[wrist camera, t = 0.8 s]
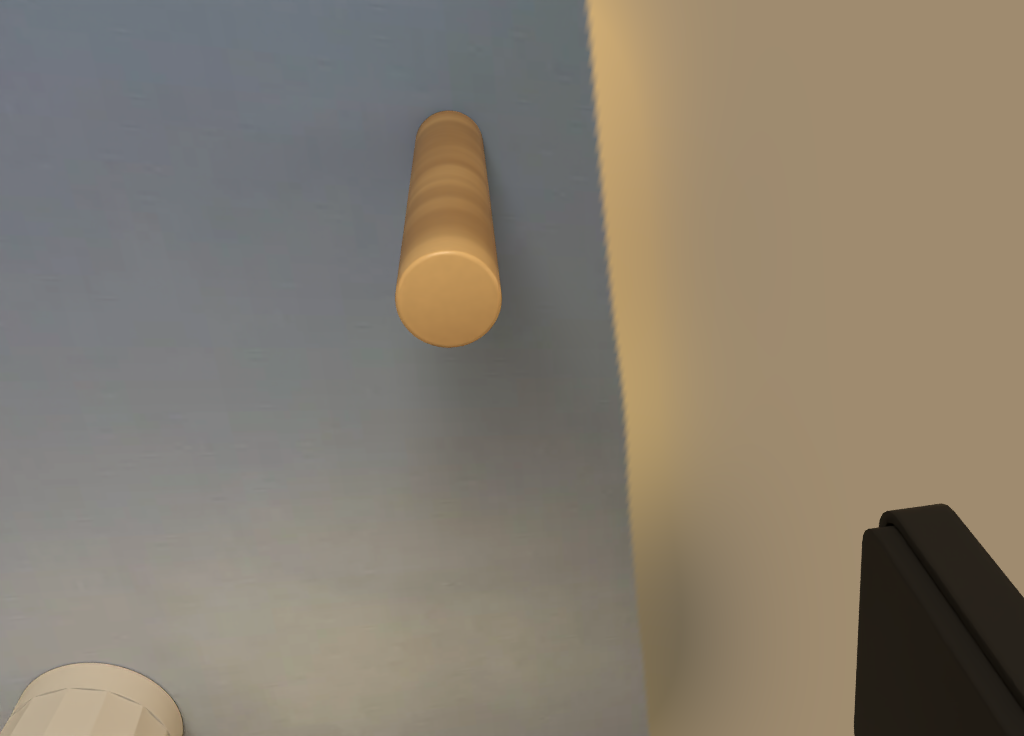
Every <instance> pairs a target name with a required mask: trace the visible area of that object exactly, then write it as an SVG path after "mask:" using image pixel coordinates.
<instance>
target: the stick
mask: <svg viewBox="0 0 1024 736" xmlns="http://www.w3.org/2000/svg"><path fill="white" fill-rule="evenodd" d="M501 301H502V296H501V286H500V278H499V270H498V261H497V253H496V245H495V237H494V229H493V220H492V212H491V204H490V196H489V187H488V179H487V171H486V163H485V154H484V146H483V139H482V135H481V132H480V130H479V128H478V126H477V125H476V124H475V122H474V121H473V120H472V119H470V118H469V117H468V116H466V115H464V114H462V113H460V112H456V111H442V112H438V113H435V114H433V115H431V116H430V117H428V118H427V119H426V120H425V121H424V122H423V123H422V125H421V126H420V128H419V130H418V132H417V135H416V141H415V149H414V156H413V164H412V171H411V179H410V187H409V194H408V202H407V209H406V217H405V225H404V232H403V240H402V247H401V255H400V263H399V270H398V278H397V285H396V293H395V302H396V308H397V312H398V315H399V317H400V319H401V321H402V323H403V324H404V326H405V327H406V328H407V329H408V330H409V331H410V332H411V333H412V334H413V335H414V336H415V337H417V338H418V339H420V340H422V341H423V342H425V343H428V344H430V345H434V346H438V347H447V348H451V347H459V346H464V345H467V344H470V343H472V342H474V341H476V340H478V339H479V338H481V337H482V336H483V335H484V334H486V333H487V332H488V331H489V330H490V329H491V327H492V326H493V325H494V323H495V321H496V319H497V318H498V315H499V312H500V308H501Z"/></svg>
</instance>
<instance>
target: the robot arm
mask: <svg viewBox="0 0 1024 736" xmlns="http://www.w3.org/2000/svg"><path fill="white" fill-rule="evenodd" d="M861 561H862V562H861V581H860V583H861V584H860V604H859V626H858V648H857V670H856V692H855V694H856V695H855V715H854V734H855V736H1024V598H1023V596H1022V595H1021V594H1020V593H1019V591H1018V590H1017V589H1016V588H1015V586H1014V585H1013V584H1012V583H1011V582H1010V580H1009V579H1008V578H1007V576H1006V575H1005V574H1004V573H1003V571H1002V570H1001V569H1000V568H999V566H998V565H997V564H996V563H995V561H994V560H993V559H992V558H991V557H990V555H989V554H988V553H987V552H986V550H985V549H984V548H983V547H982V545H981V544H980V543H979V542H978V540H977V539H976V538H975V537H974V535H973V534H972V533H971V532H970V530H969V529H968V528H967V527H966V525H965V524H964V523H963V522H962V521H961V519H960V518H959V517H958V516H957V514H956V513H955V512H954V511H953V510H952V509H951V508H950V507H949V506H948V505H945V504H935V505H928V506H922V507H914V508H907V509H899V510H892V511H886V512H885V513H883V514H882V516H881V518H880V522H879V528H872V529H868V530H866V531H865V532H864V535H863V541H862V560H861Z"/></svg>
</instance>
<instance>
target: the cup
mask: <svg viewBox="0 0 1024 736" xmlns="http://www.w3.org/2000/svg"><path fill="white" fill-rule="evenodd" d="M182 735H183V723H182V718H181V714H180V712H179V710H178V708H177V706H176V704H175V702H174V701H173V700H172V698H171V697H170V696H169V695H168V694H167V693H166V692H165V691H164V690H163V689H162V688H161V687H160V686H159V685H157V684H156V683H155V682H153V681H152V680H150V679H148V678H147V677H145V676H143V675H141V674H139V673H136V672H134V671H131V670H129V669H126V668H122V667H118V666H114V665H109V664H101V663H78V664H71V665H66V666H62V667H58V668H55V669H53V670H50V671H48V672H46V673H44V674H42V675H41V676H39V677H38V678H36V679H35V680H34V681H33V682H32V683H30V684H29V686H28V687H27V688H26V689H25V690H24V692H23V694H22V695H21V697H20V699H19V701H18V703H17V705H16V707H15V709H14V711H13V713H12V715H11V716H10V718H9V720H8V722H7V723H6V725H5V726H4V728H3V729H2V731H1V733H0V736H182Z"/></svg>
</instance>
